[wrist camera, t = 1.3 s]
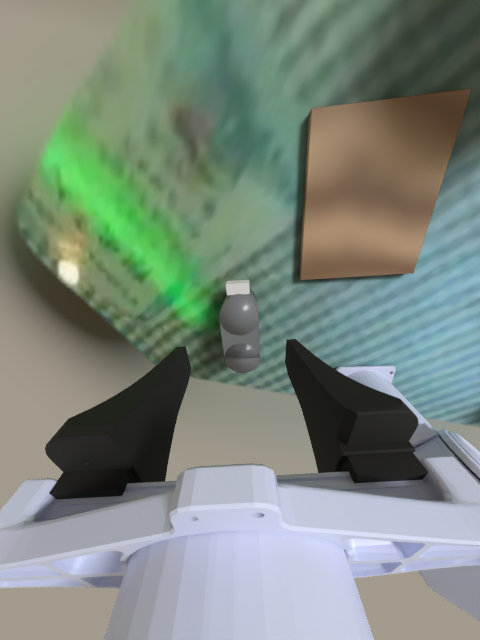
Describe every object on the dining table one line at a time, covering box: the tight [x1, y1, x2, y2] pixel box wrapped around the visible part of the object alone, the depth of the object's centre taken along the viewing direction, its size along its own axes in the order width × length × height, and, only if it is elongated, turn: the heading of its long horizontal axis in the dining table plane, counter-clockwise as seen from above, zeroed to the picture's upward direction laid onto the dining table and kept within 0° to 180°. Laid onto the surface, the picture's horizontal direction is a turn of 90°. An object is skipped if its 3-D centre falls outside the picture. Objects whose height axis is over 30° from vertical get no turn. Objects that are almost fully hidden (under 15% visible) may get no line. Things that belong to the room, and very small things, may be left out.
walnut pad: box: [299, 88, 472, 280], centre depth 18 cm, size 14×12×1 cm
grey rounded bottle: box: [219, 280, 260, 373], centre depth 22 cm, size 10×4×5 cm, turn 4°
